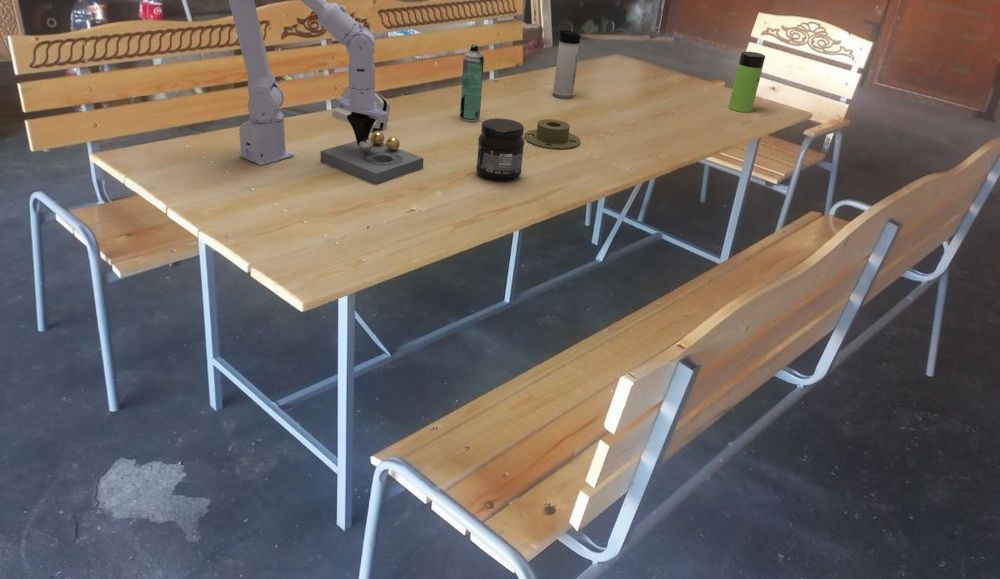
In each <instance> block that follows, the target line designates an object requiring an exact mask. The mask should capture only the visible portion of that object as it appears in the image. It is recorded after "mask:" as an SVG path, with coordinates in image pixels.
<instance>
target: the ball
mask: <svg viewBox="0 0 1000 579" xmlns="http://www.w3.org/2000/svg"><path fill="white" fill-rule="evenodd" d="M359 148H360V150H361V151H362V152H365V153H367V152H370V151H371V150H372V148H373V143H372V141H371V140H370V139H367V138H365V139H362V140H361V141H360V143H359Z"/></svg>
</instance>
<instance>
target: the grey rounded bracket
mask: <svg viewBox="0 0 1000 579" xmlns="http://www.w3.org/2000/svg"><path fill="white" fill-rule="evenodd" d="M340 98H346V99H349V86H346V87H344V89H343V91H342V93H341V96H340ZM375 103H377V107H379V108H380V109H382V110H383V111H385V112H388V116H389V114H390V108H391V104H390V102H389V101H388V99H386V98H385V97H384V96H382V94H380V93H378V92H377V91H375ZM351 113H352V111H350V110H347V109H345V108H338V107H337V106H336V108H334V109H333V111H332V115H331V117H332V116H333V117H332V118H334V117H335V118H334V119H336V118H337V120H339V119H341V120H344V121H346V122H348V123H350V122H349V121H348V119H347V115H350V114H351ZM341 120H340V121H341ZM344 121H343V122H344ZM346 122H345V123H346ZM348 123H347V124H348ZM387 126H388V121H387V122H383V123H381V122H379V120H376V121H375V122H374V124H373V126H372V128H371V131H370V134H372V133H373V131H374V129H378V130H383V131H385V129H386V130H387Z"/></svg>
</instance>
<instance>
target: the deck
mask: <svg viewBox="0 0 1000 579" xmlns="http://www.w3.org/2000/svg"><path fill="white" fill-rule="evenodd" d="M368 139H370V140H371V137H368ZM319 154H320V162H321V161H322V162H321V163H323V162H324V163H323V164H326V165H328V164H329V166H331V167H333V168H336V169H338V170H341V171H343V172H345V173H348V174H351V175H353V176H355V175H356V177H357V176H358V177H357V178H359V179H363V180H365V181H368V182H370V183H373V184H375V185H379V184H381V183H384V182H387V181H390V180H393V179H396V178H399V177H402V176H405V175H408V174H410V173H413V172H416V171H419V170H421V169H423V168H424V157H422V156H420V155H418V154H417V155H416V154H414V153H411V152H409V151H405V150H403V149H400V148H398V149H397V150H395V151H391V150H389V149H388V148H387V147H386V142H383V143H382V144H380V145H375V144H373V148H372V150H371V151H370V152H367V153H365V152H362V151H361V150H360V148H359V146H358V144H357V140H354V141H352V142H347V143H344V144H340V145H337V146H333V147H330V148H327V149H322V150H320V152H319Z"/></svg>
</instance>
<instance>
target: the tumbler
mask: <svg viewBox="0 0 1000 579" xmlns="http://www.w3.org/2000/svg"><path fill="white" fill-rule="evenodd" d="M765 59H766V55H765V54H763V53H761V52H755V51H741V53H740V56H739V61H738V65H737V70H736V74H735V78H734V81H733V82H734V83H733V87H732V91H731V94H730V95H731V96H730V100H729V104H728V108H729V109H730V110H732V111H734V112H739V113H751V112H752V111H753V107H754V103H755V99H756V95H757V92H758V87H759V83H760V80H761V75H762V72H763V68H764V65H765V64H764V62H765Z"/></svg>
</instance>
